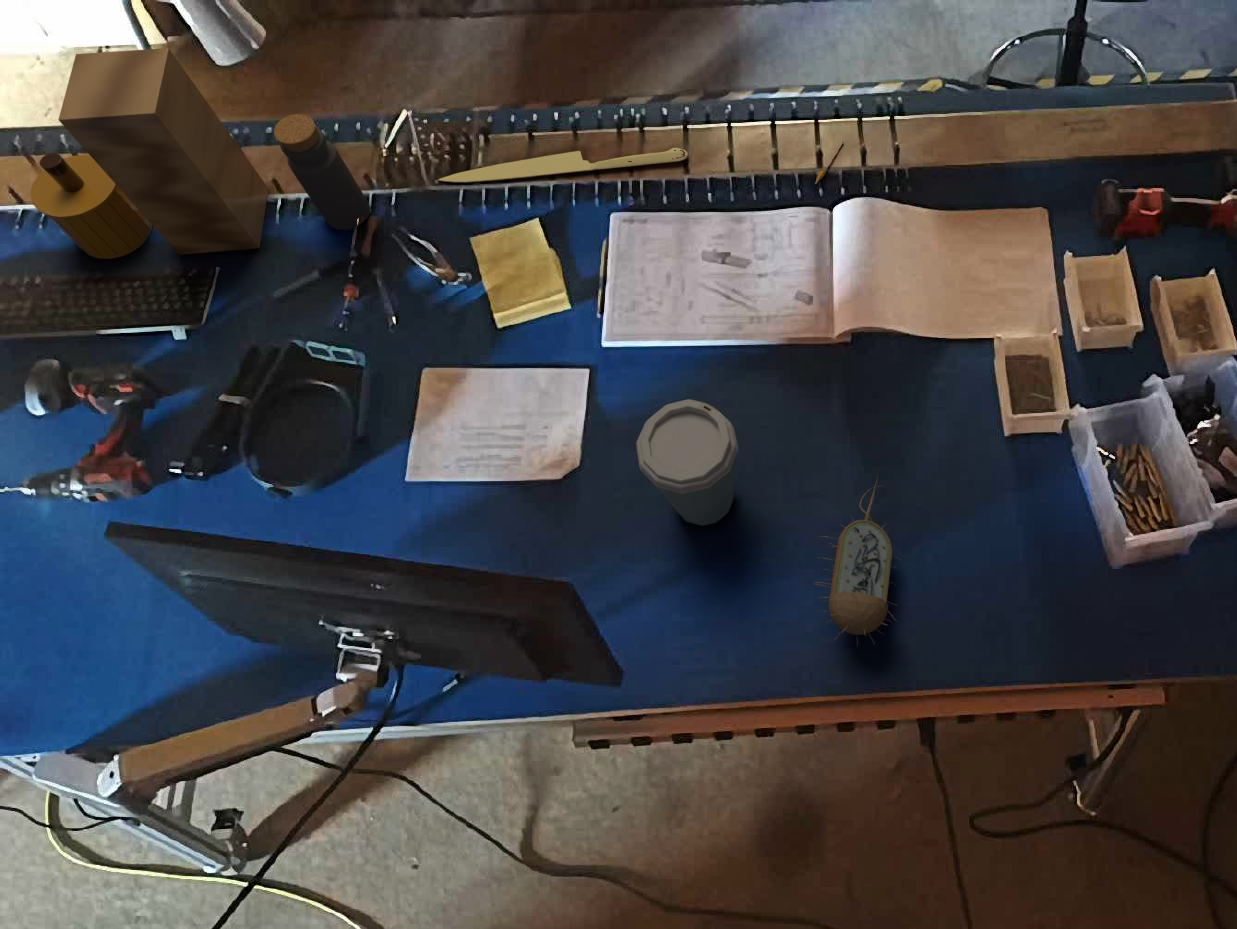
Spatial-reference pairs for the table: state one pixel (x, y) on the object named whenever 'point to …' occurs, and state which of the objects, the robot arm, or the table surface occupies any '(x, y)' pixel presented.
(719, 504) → the disposable coffee cup
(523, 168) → the knife
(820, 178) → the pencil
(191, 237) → the stand
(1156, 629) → the table surface
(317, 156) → the bottle
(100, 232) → the wooden cup
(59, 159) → the lid
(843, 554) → the bacterium
